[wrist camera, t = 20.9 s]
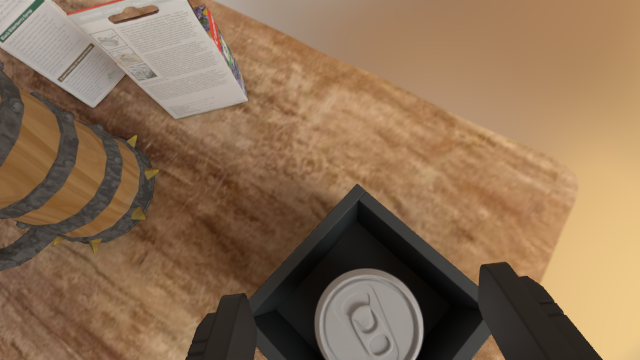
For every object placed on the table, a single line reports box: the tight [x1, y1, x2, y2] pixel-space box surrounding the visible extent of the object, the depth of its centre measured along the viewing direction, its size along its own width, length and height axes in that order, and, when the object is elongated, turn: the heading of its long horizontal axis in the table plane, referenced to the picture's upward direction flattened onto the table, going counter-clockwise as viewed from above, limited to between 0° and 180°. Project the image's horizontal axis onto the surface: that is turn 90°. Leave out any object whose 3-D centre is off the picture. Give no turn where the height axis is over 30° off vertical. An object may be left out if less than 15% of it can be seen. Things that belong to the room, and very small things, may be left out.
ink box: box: [66, 0, 248, 119], centre depth 29 cm, size 4×8×15 cm, turn 103°
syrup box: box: [0, 0, 126, 108], centre depth 31 cm, size 6×6×14 cm
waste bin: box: [248, 184, 491, 360], centre depth 25 cm, size 12×12×9 cm
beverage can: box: [314, 267, 424, 360], centre depth 22 cm, size 6×6×12 cm
